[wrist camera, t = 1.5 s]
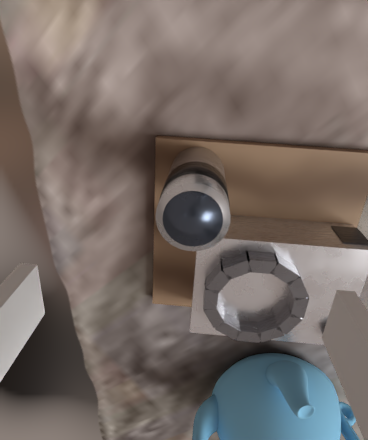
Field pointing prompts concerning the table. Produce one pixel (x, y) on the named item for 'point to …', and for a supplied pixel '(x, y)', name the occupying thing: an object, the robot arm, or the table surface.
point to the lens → (194, 201)
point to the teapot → (274, 403)
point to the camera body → (276, 278)
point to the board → (261, 194)
